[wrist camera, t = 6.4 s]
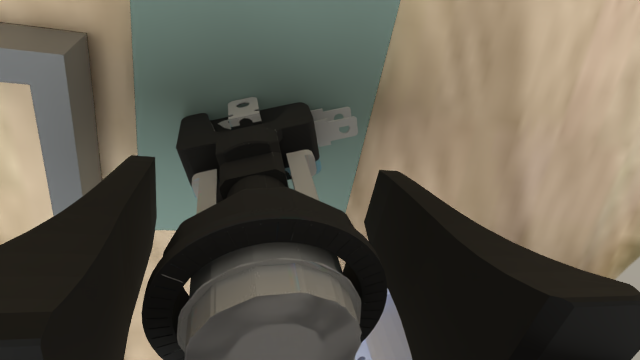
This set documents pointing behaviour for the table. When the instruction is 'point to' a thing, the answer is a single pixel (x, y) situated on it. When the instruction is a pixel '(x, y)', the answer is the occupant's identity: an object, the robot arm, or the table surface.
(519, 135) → the table surface
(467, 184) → the table surface
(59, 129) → the equipment case
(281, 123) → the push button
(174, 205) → the mat
